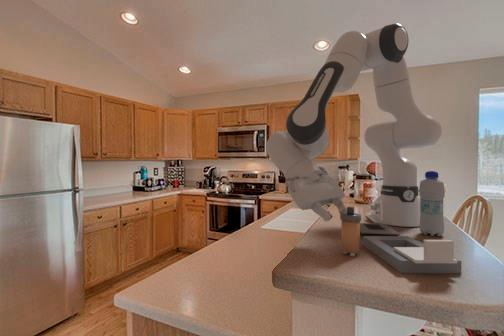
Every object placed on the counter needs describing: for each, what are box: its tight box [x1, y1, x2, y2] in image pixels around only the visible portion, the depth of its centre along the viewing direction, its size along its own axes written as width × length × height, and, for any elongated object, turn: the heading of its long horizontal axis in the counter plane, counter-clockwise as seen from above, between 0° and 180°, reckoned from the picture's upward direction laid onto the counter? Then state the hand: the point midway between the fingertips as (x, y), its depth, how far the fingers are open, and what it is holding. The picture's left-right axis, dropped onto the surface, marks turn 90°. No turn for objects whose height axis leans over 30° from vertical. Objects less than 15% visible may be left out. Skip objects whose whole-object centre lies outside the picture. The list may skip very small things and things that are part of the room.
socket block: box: [362, 235, 462, 274], centre depth 59 cm, size 18×12×2 cm, turn 179°
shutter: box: [394, 239, 457, 263], centre depth 52 cm, size 9×8×5 cm
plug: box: [339, 206, 362, 258], centre depth 62 cm, size 5×5×12 cm
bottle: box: [418, 170, 446, 237], centre depth 79 cm, size 7×7×20 cm
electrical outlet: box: [360, 222, 401, 236], centre depth 81 cm, size 13×10×2 cm
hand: (338, 216), depth 64 cm, fingers open, 8 cm apart
